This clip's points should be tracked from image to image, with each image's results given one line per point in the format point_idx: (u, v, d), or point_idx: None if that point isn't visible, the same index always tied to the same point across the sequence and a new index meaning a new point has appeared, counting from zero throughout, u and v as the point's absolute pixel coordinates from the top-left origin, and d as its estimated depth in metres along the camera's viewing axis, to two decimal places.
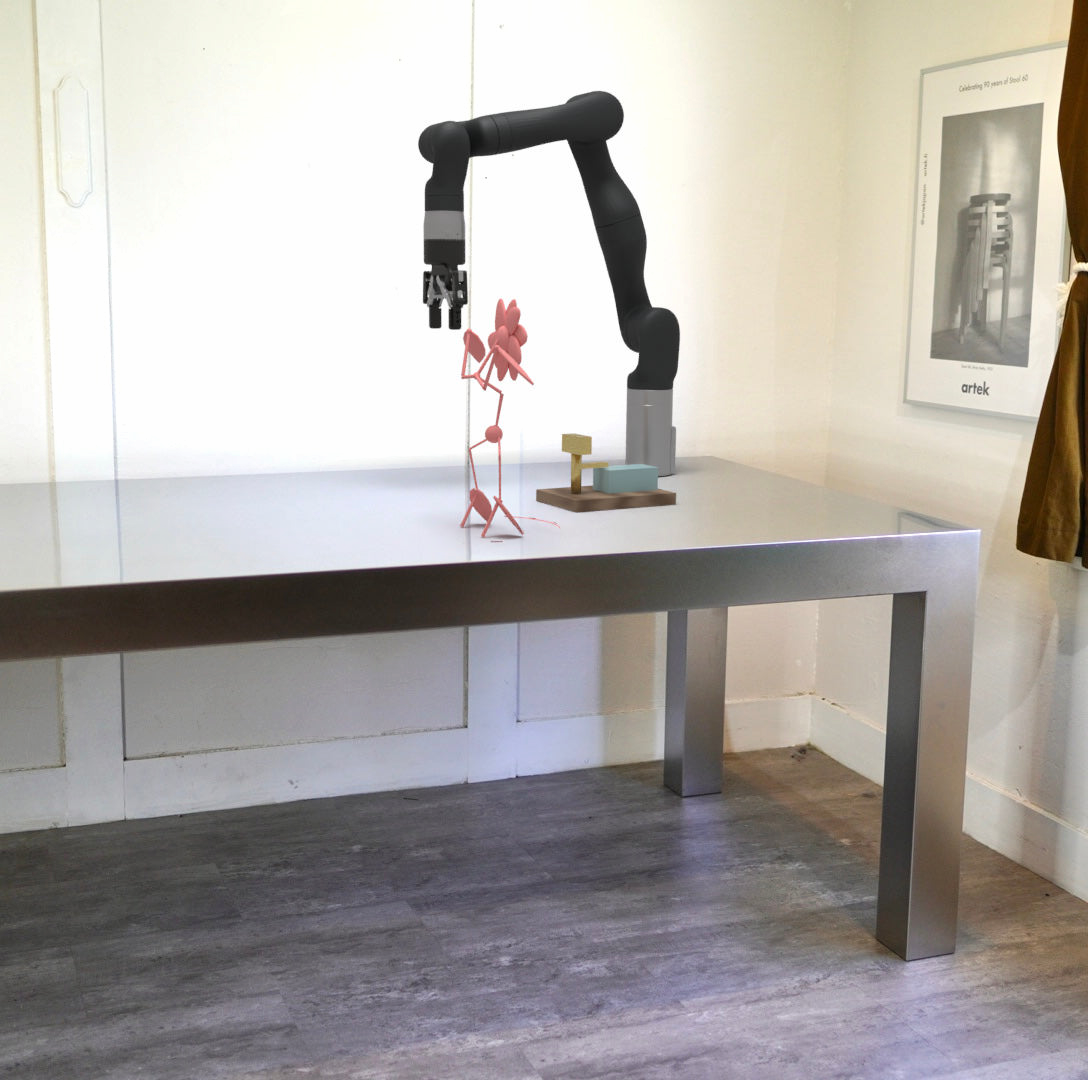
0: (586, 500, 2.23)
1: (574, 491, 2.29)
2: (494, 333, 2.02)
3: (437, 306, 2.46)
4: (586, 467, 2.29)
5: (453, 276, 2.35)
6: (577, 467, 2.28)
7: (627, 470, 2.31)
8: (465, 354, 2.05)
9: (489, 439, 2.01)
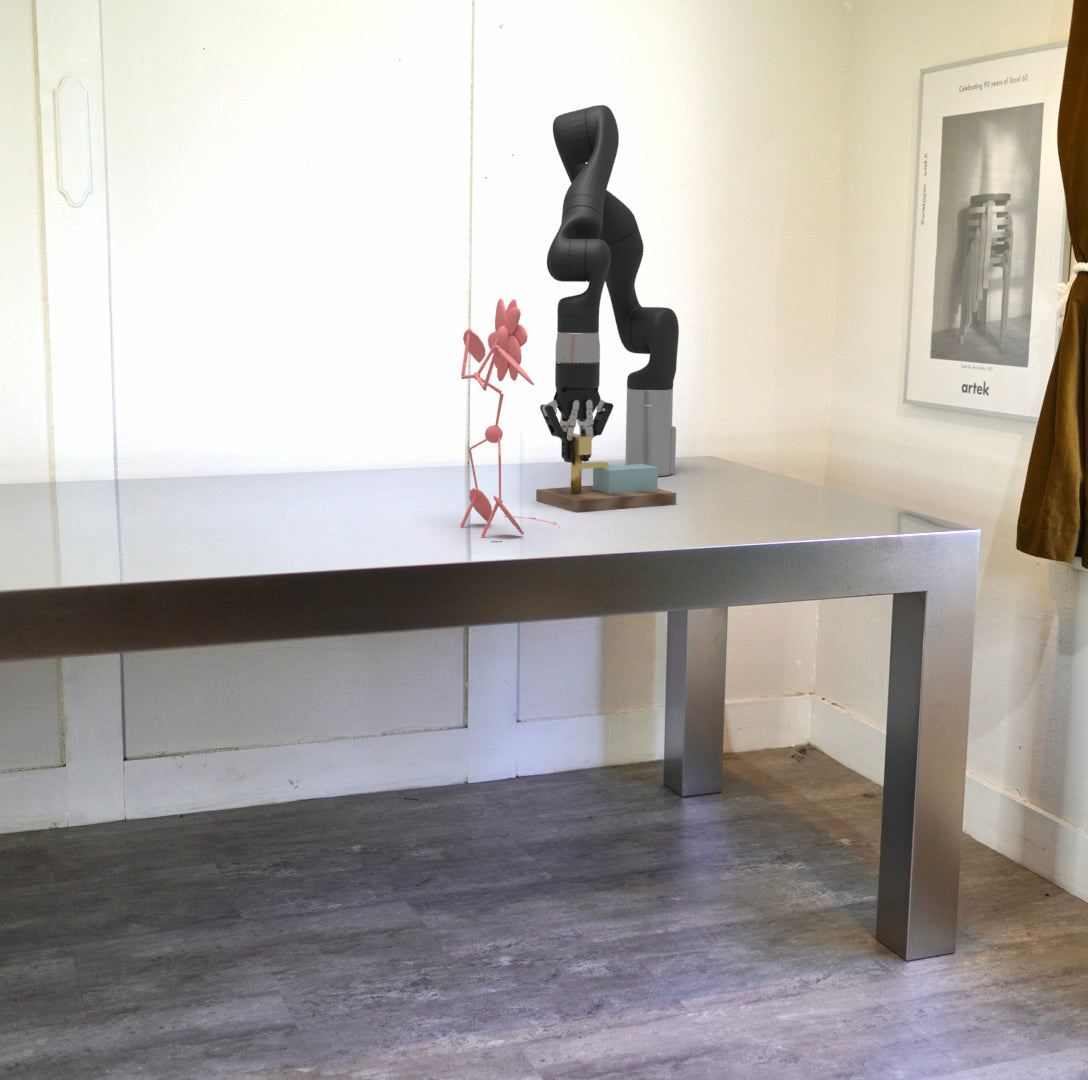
0: (586, 500, 2.23)
1: (574, 491, 2.29)
2: (494, 333, 2.02)
3: None
4: (586, 467, 2.29)
5: (609, 409, 2.29)
6: (577, 467, 2.28)
7: (627, 470, 2.31)
8: (465, 354, 2.05)
9: (489, 439, 2.01)
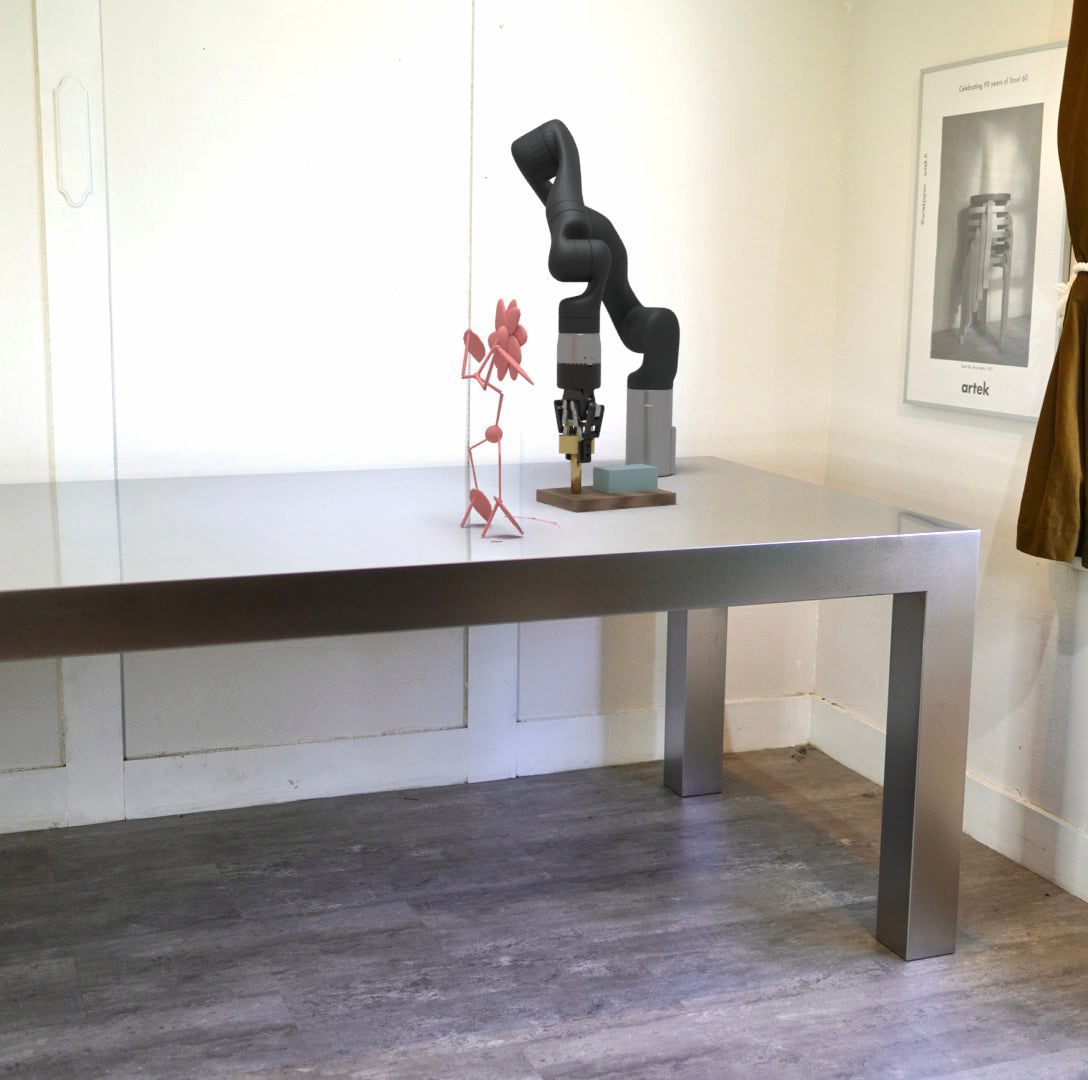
0: (586, 500, 2.23)
1: (579, 491, 2.29)
2: (494, 333, 2.02)
3: None
4: None
5: None
6: (581, 467, 2.29)
7: (627, 470, 2.31)
8: (466, 354, 2.05)
9: (489, 439, 2.01)
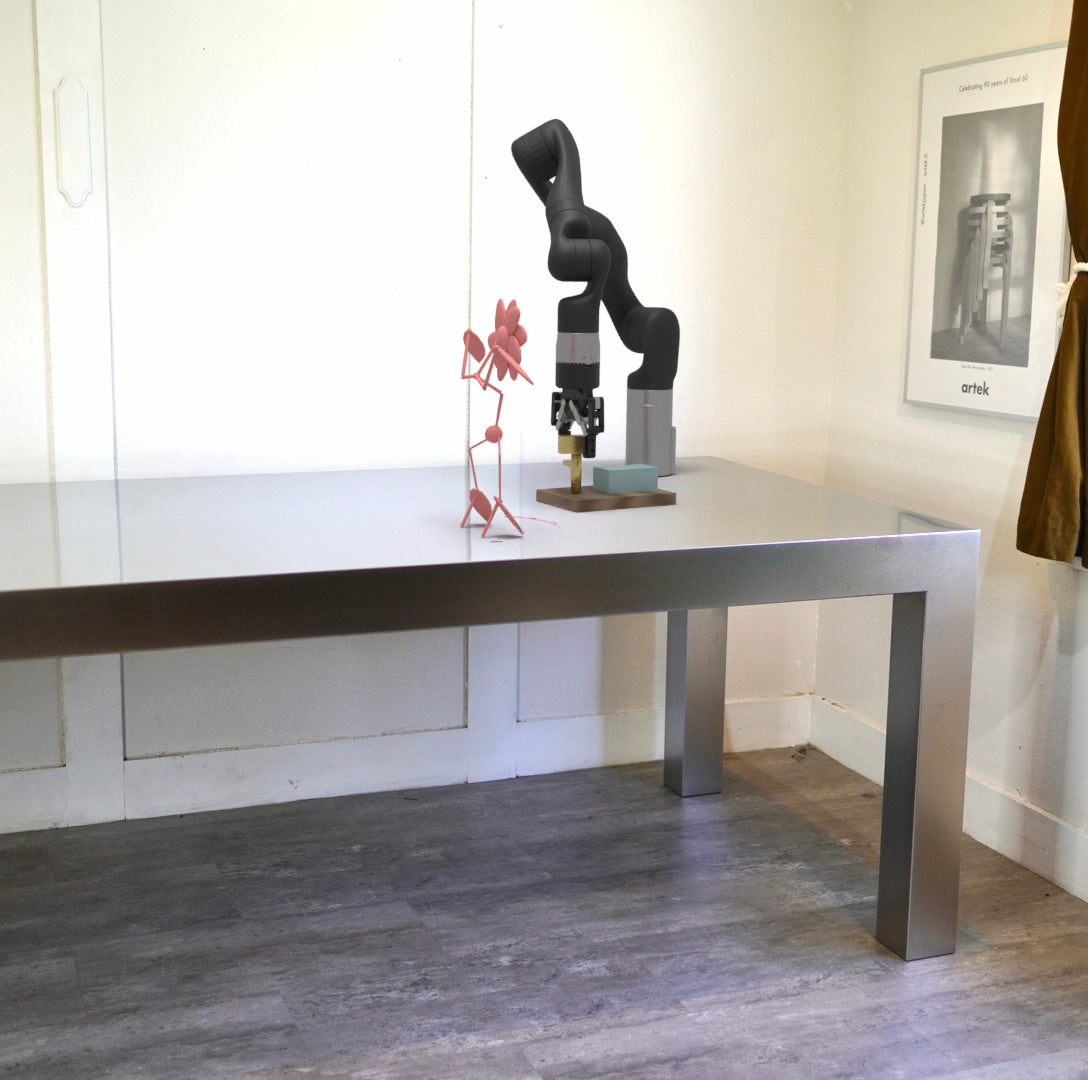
0: (586, 500, 2.23)
1: (580, 491, 2.29)
2: (494, 333, 2.02)
3: None
4: None
5: None
6: (581, 466, 2.29)
7: (627, 470, 2.31)
8: (465, 354, 2.05)
9: (489, 439, 2.01)
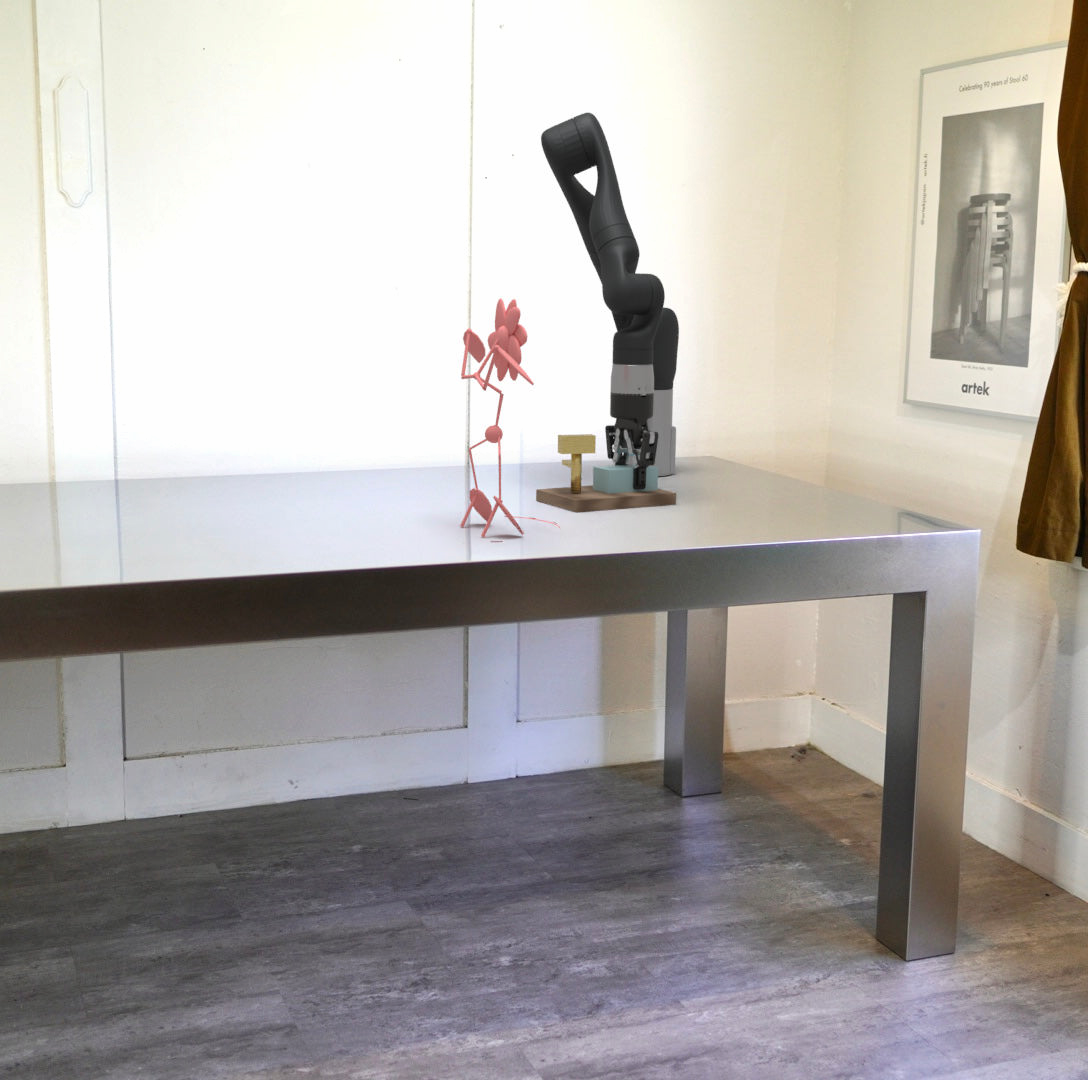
0: (586, 500, 2.23)
1: (580, 491, 2.29)
2: (494, 333, 2.02)
3: None
4: None
5: None
6: (581, 466, 2.29)
7: (627, 470, 2.31)
8: (465, 354, 2.05)
9: (489, 439, 2.01)
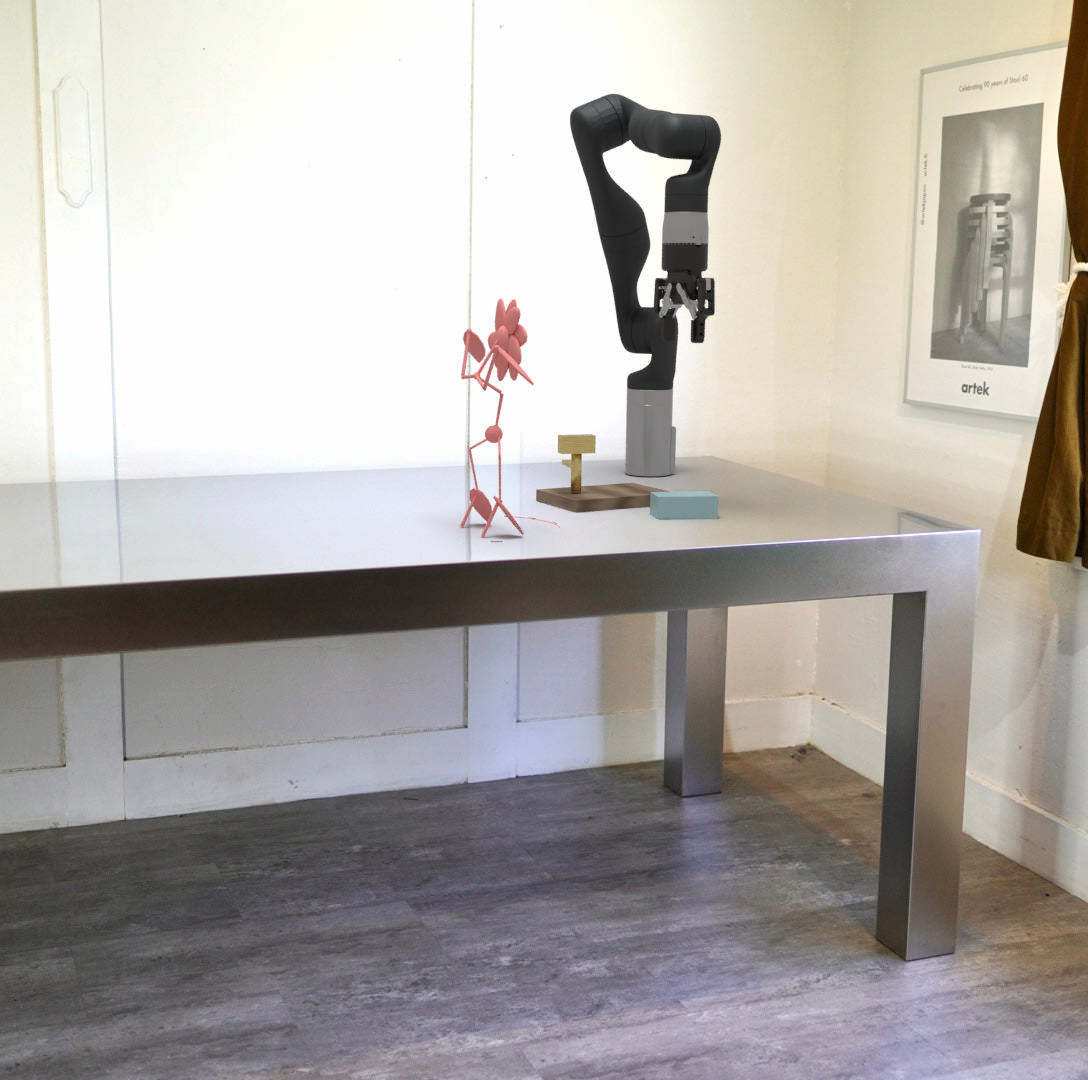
0: (586, 500, 2.23)
1: (580, 491, 2.29)
2: (494, 333, 2.02)
3: None
4: None
5: None
6: (581, 466, 2.29)
7: (680, 497, 2.16)
8: (465, 354, 2.05)
9: (489, 439, 2.01)
